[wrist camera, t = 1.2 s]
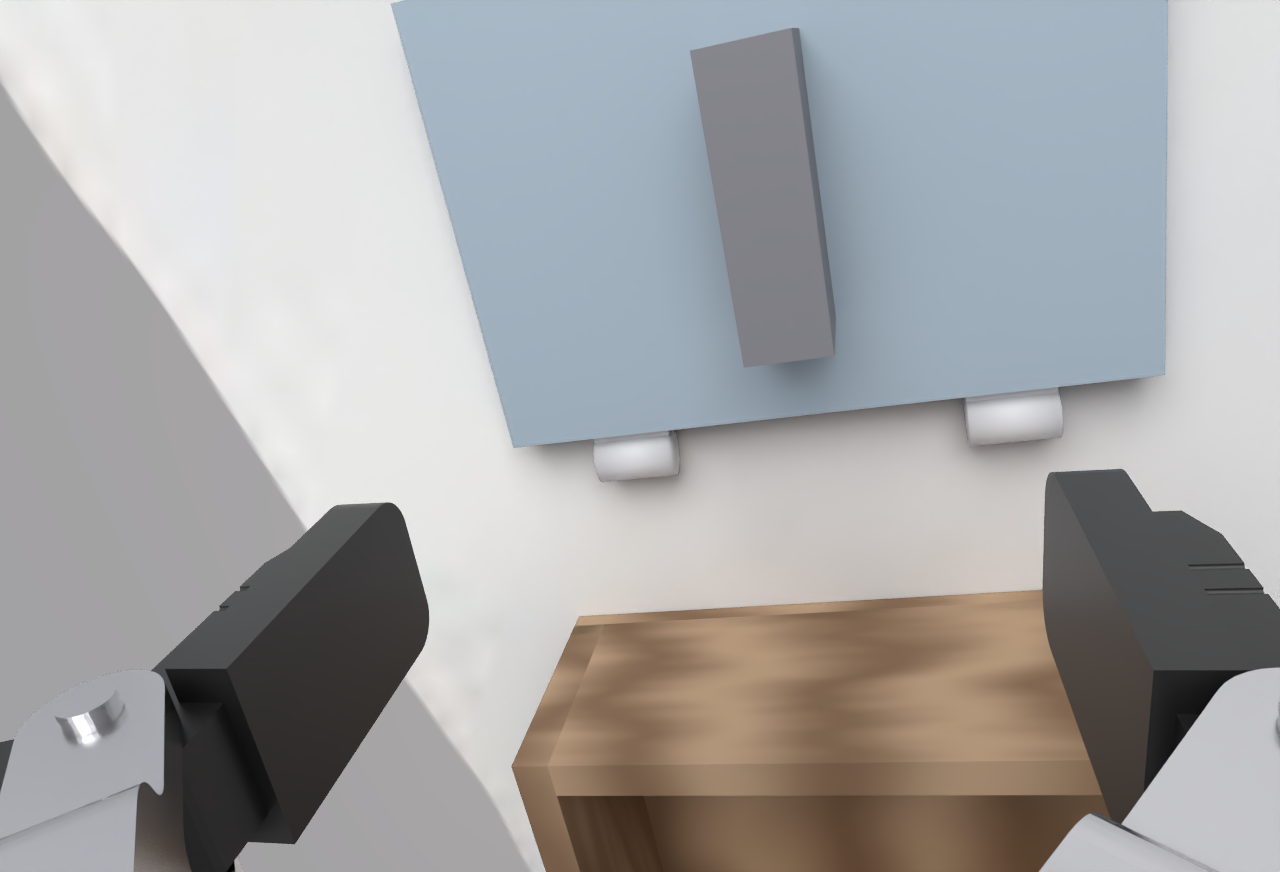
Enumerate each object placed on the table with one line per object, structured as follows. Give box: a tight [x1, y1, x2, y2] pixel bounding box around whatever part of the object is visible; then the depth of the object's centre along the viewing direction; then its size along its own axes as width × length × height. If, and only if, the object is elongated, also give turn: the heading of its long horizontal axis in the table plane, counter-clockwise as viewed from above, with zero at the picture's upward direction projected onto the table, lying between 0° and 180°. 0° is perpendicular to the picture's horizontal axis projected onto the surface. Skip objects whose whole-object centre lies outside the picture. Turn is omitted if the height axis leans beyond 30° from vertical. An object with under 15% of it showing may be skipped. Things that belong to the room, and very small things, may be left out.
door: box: [391, 0, 1168, 482], centre depth 25 cm, size 20×16×5 cm
